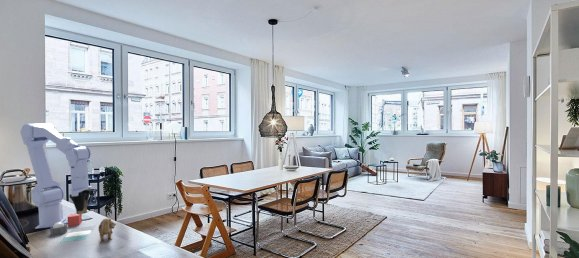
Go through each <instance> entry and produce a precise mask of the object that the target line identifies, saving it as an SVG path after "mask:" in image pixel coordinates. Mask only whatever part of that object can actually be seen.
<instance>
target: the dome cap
mask: <svg viewBox="0 0 579 258" xmlns="http://www.w3.org/2000/svg"><path fill="white" fill-rule="evenodd" d="M64 224H65V223H64V222H58V223H56V224H54V226H53V228H60V227H63V226H64Z"/></svg>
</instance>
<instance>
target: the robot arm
mask: <svg viewBox="0 0 579 258" xmlns="http://www.w3.org/2000/svg"><path fill="white" fill-rule="evenodd" d="M20 135H21V139H22V142H23V145H25V146H26V148H27V152H28V155H29V159H30V162H31V166H32V169H33V172H34V176H35V181H36V183H37V184H36V185H35V186H34V187H33V188H32V189H31V201H32V203H33V204H34V205H35V206H36V207H37V208H38V221H39V224H38V225H37V226H36V227H34V228H35V230H36V229H44V228H45V229H46V228H51V227H52V226H54V224H56V223H58V222H62V223H64V221H66V218H67V217H65V218H64V211H63V210H64V209H63V204H62V201H63V200H64V198H65V190H64V188H62V186H61V185H62V184H61V183H60V182H59V181H55V180H54V179H53V176H52V172H51V169H50V166H49V162H48V159H47V156H46V152H45V149H44V145H45V144H47V143H48V142H49V141H51V142H52V143H54V144H55V147H56V148H57V150H58V151H60V152H61V153H63V154H64V155H65V157H66V160H67V161H68V166H69V167H70V180H71V181H70V182H71V189H70V190H71V192H70V193H71V194H69V198H70V200H71V201H72V203H73V204H74V208H75V211H83V209H84V201H85V200H86V203H87V204H88V201H89V196H90V194H91V193H92V188H93V186H92V185H90V184H89V183H90V182H89V168H88V166H89V165H88V160H90V158H91V153H92V152H91V149H90V148H89V147H88V146H86V145H80V144H78V143H77V142H75V141H74V140H73V139H72V138H71V137H70V136H69V137H67V136H66V137H64V136H63V135H61V134H60V133H59V131H57V130H56V126H55V125H54V124H52V123H51V122H43V123H42V122H41V123H40V122H39V123H27V122H26V123H24V124H23V125H22V126H21V129H20Z"/></svg>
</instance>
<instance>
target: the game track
mask: <svg viewBox="0 0 579 258" xmlns="http://www.w3.org/2000/svg"><path fill="white" fill-rule="evenodd" d="M95 227H96V225H91V226H90V225H89V226H83V227H74V228H72V229H71V230H70V231H69V232H68V233H67V234H66V235H65V236H64V237H63V238H62V239H61V241H60V242H59V243H66V242H74V241H80V240H81V241H82V240H86V239H87V237H88V236H89V235H90V234H91V232H92V231H93V230H94V228H95Z"/></svg>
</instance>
